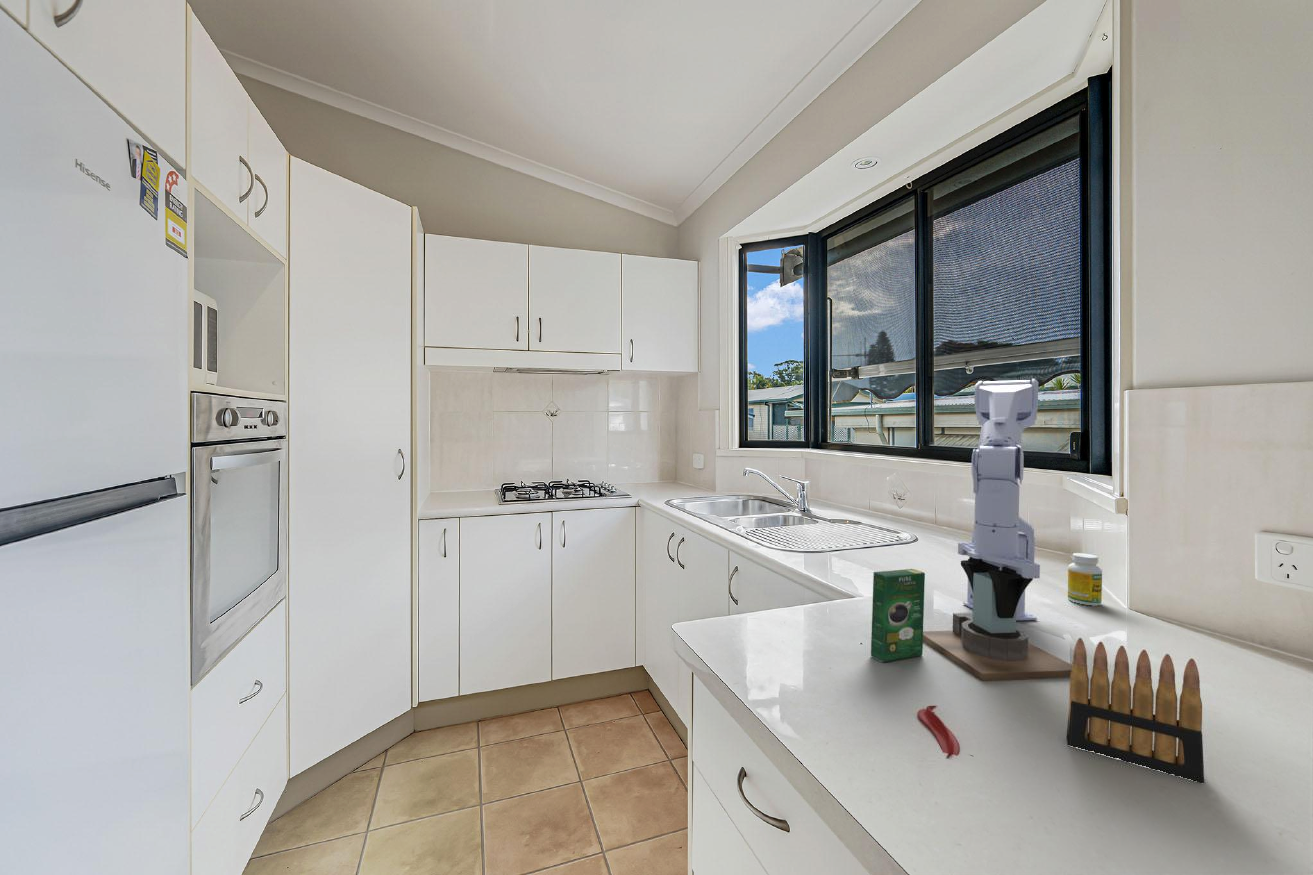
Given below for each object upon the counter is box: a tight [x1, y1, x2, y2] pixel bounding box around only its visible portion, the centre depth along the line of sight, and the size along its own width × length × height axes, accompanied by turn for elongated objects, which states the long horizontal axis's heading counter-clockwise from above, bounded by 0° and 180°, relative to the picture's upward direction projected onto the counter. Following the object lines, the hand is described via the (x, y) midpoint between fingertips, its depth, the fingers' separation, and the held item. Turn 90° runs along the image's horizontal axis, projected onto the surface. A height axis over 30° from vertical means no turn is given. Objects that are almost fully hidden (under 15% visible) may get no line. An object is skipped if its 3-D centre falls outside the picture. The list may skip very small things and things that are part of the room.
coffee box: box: [870, 568, 926, 663], centre depth 80 cm, size 8×3×13 cm, turn 110°
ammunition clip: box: [1066, 637, 1205, 785], centre depth 56 cm, size 11×2×12 cm, turn 55°
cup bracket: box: [923, 612, 1072, 682], centre depth 81 cm, size 15×15×4 cm
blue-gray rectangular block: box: [972, 572, 1017, 633], centre depth 81 cm, size 4×4×8 cm
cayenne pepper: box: [917, 705, 960, 759], centre depth 61 cm, size 12×5×2 cm, turn 149°
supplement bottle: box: [1067, 552, 1103, 607], centre depth 106 cm, size 5×5×10 cm
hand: (994, 612), depth 81 cm, fingers closed on blue-gray rectangular block, 4 cm apart
